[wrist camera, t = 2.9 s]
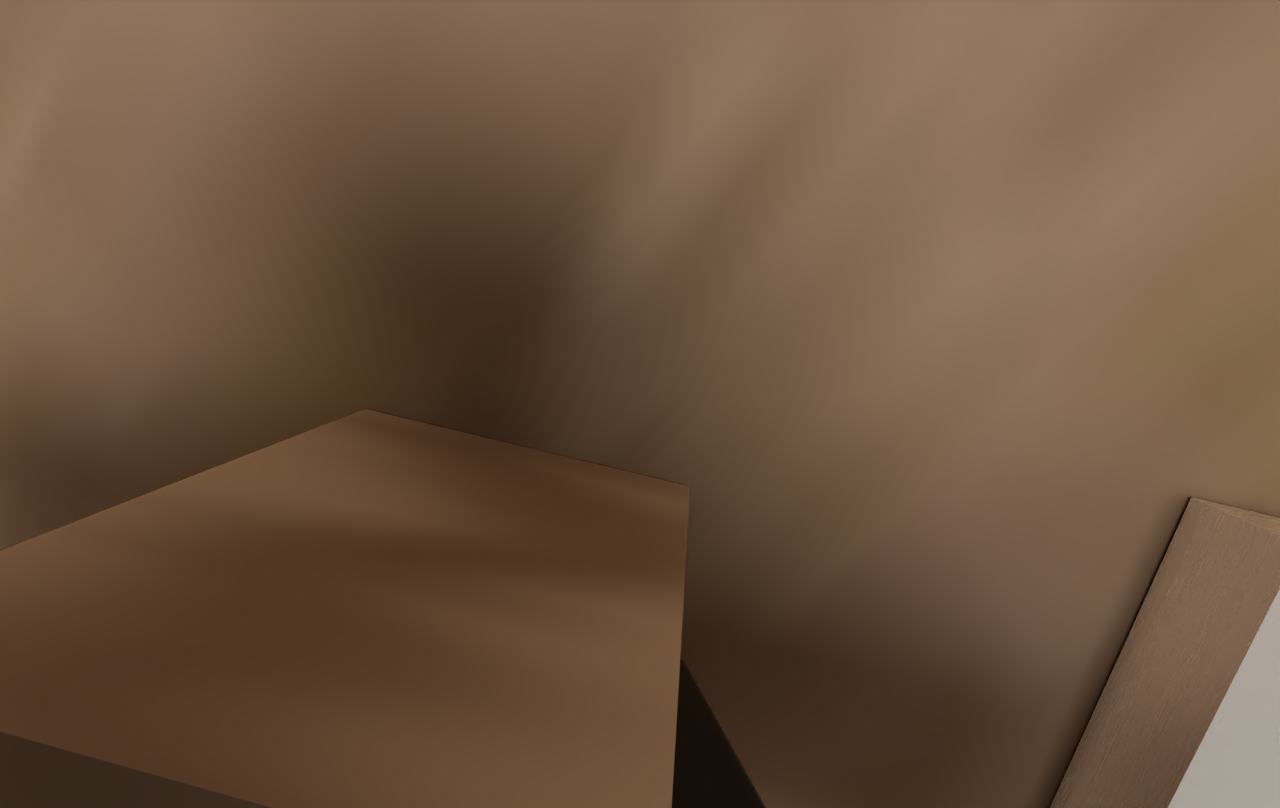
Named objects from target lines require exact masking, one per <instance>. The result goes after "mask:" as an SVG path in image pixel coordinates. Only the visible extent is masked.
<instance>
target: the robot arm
mask: <svg viewBox="0 0 1280 808" xmlns="http://www.w3.org/2000/svg"><path fill="white" fill-rule="evenodd" d="M672 808H766V807H765V805H764V804H763V802H762V800H761V798H760V796H759V795H758V793H757V791H756V789H755V787H754V786H753V784H752V782H751V780H750V778H749V777H748V775H747V773H746V771H745V769H744V768H743V766H742V764H741V762H740V760H739V759H738V757H737V755H736V753H735V751H734V750H733V748H732V746H731V744H730V742H729V741H728V739H727V737H726V735H725V733H724V732H723V730H722V728H721V726H720V724H719V723H718V721H717V719H716V717H715V715H714V714H713V712H712V710H711V708H710V706H709V704H708V703H707V701H706V699H705V697H704V695H703V694H702V692H701V690H700V688H699V686H698V685H697V683H696V681H695V679H694V677H693V676H692V674H691V672H690V670H689V668H688V667H687V665H686V663H685V661H684V660H683V659H682V658H680V672H679V689H678V707H677V724H676V741H675V758H674V775H673V792H672Z"/></svg>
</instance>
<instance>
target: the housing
mask: <svg viewBox="0 0 1280 808" xmlns="http://www.w3.org/2000/svg"><path fill="white" fill-rule="evenodd" d="M689 501H690V486H686V485H682V484H678V483H674V482H670V481H665V480H661V479H657V478H653V477H649V476H645V475H640V474H636V473H632V472H628V471H624V470H619V469H615V468H611V467H607V466H603V465H599V464H594V463H590V462H586V461H582V460H578V459H573V458H569V457H565V456H561V455H557V454H553V453H548V452H544V451H540V450H536V449H532V448H527V447H523V446H519V445H515V444H511V443H507V442H502V441H498V440H494V439H490V438H486V437H481V436H477V435H473V434H469V433H465V432H461V431H456V430H452V429H448V428H444V427H440V426H435V425H431V424H427V423H423V422H419V421H414V420H410V419H406V418H402V417H398V416H394V415H389V414H385V413H381V412H377V411H373V410H368V409H363V410H361V411H358V412H355V413H353V414H350V415H348V416H345V417H343V418H340V419H337V420H335V421H332V422H330V423H327V424H324V425H322V426H319V427H317V428H314V429H312V430H309V431H306V432H304V433H301V434H299V435H296V436H294V437H291V438H288V439H286V440H283V441H281V442H278V443H276V444H273V445H270V446H268V447H265V448H263V449H260V450H258V451H255V452H252V453H250V454H247V455H245V456H242V457H240V458H237V459H234V460H232V461H229V462H227V463H224V464H222V465H219V466H216V467H214V468H211V469H209V470H206V471H203V472H201V473H198V474H196V475H193V476H191V477H188V478H185V479H183V480H180V481H178V482H175V483H173V484H170V485H167V486H165V487H162V488H160V489H157V490H155V491H152V492H149V493H147V494H144V495H142V496H139V497H137V498H134V499H131V500H129V501H126V502H124V503H121V504H119V505H116V506H113V507H111V508H108V509H106V510H103V511H100V512H98V513H95V514H93V515H90V516H88V517H85V518H82V519H80V520H77V521H75V522H72V523H70V524H67V525H64V526H62V527H59V528H57V529H54V530H52V531H49V532H46V533H44V534H41V535H39V536H36V537H34V538H31V539H28V540H26V541H23V542H21V543H18V544H16V545H13V546H10V547H8V548H5V549H3V550H0V808H672V792H673V775H674V758H675V741H676V724H677V707H678V689H679V672H680V655H681V638H682V621H683V604H684V587H685V570H686V552H687V535H688V518H689Z"/></svg>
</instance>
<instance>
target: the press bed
mask: <svg viewBox="0 0 1280 808" xmlns="http://www.w3.org/2000/svg"><path fill="white" fill-rule="evenodd" d="M1050 808H1280V517H1275V516H1271V515H1266V514H1262V513H1258V512H1253V511H1249V510H1245V509H1240V508H1236V507H1232V506H1227V505H1223V504H1219V503H1214V502H1210V501H1206V500H1201V499H1197V498H1193V497H1191V499H1190V501H1189V504H1188V506H1187V508H1186V510H1185V512H1184V515H1183V517H1182V519H1181V521H1180V523H1179V525H1178V528H1177V530H1176V532H1175V534H1174V536H1173V539H1172V541H1171V543H1170V545H1169V547H1168V550H1167V552H1166V554H1165V556H1164V558H1163V561H1162V563H1161V565H1160V567H1159V569H1158V572H1157V574H1156V576H1155V578H1154V580H1153V583H1152V585H1151V587H1150V589H1149V591H1148V594H1147V596H1146V598H1145V600H1144V602H1143V605H1142V607H1141V609H1140V611H1139V613H1138V616H1137V618H1136V620H1135V622H1134V624H1133V626H1132V629H1131V631H1130V633H1129V635H1128V637H1127V640H1126V642H1125V644H1124V646H1123V648H1122V651H1121V653H1120V655H1119V657H1118V659H1117V662H1116V664H1115V666H1114V668H1113V670H1112V673H1111V675H1110V677H1109V679H1108V681H1107V684H1106V686H1105V688H1104V690H1103V692H1102V695H1101V697H1100V699H1099V701H1098V703H1097V706H1096V708H1095V710H1094V712H1093V714H1092V716H1091V719H1090V721H1089V723H1088V725H1087V727H1086V730H1085V732H1084V734H1083V736H1082V738H1081V741H1080V743H1079V745H1078V747H1077V749H1076V752H1075V754H1074V756H1073V758H1072V760H1071V763H1070V765H1069V767H1068V769H1067V771H1066V774H1065V776H1064V778H1063V780H1062V782H1061V785H1060V787H1059V789H1058V791H1057V793H1056V796H1055V798H1054V800H1053V802H1052V804H1051V807H1050Z"/></svg>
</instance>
